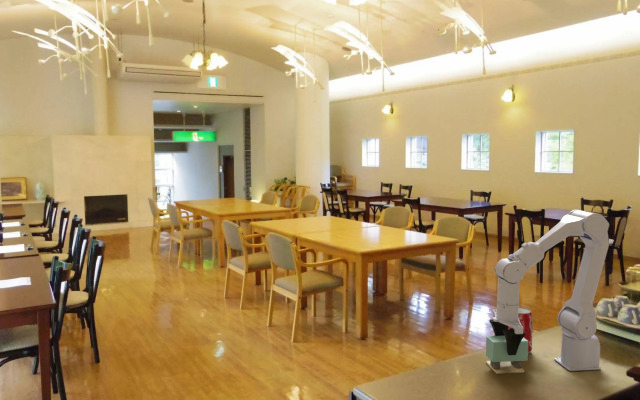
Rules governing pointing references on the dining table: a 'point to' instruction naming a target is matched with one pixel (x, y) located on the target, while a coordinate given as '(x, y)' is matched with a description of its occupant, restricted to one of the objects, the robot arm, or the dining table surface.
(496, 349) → the block
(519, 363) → the stand
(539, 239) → the robot arm
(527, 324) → the soda can
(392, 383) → the dining table surface
